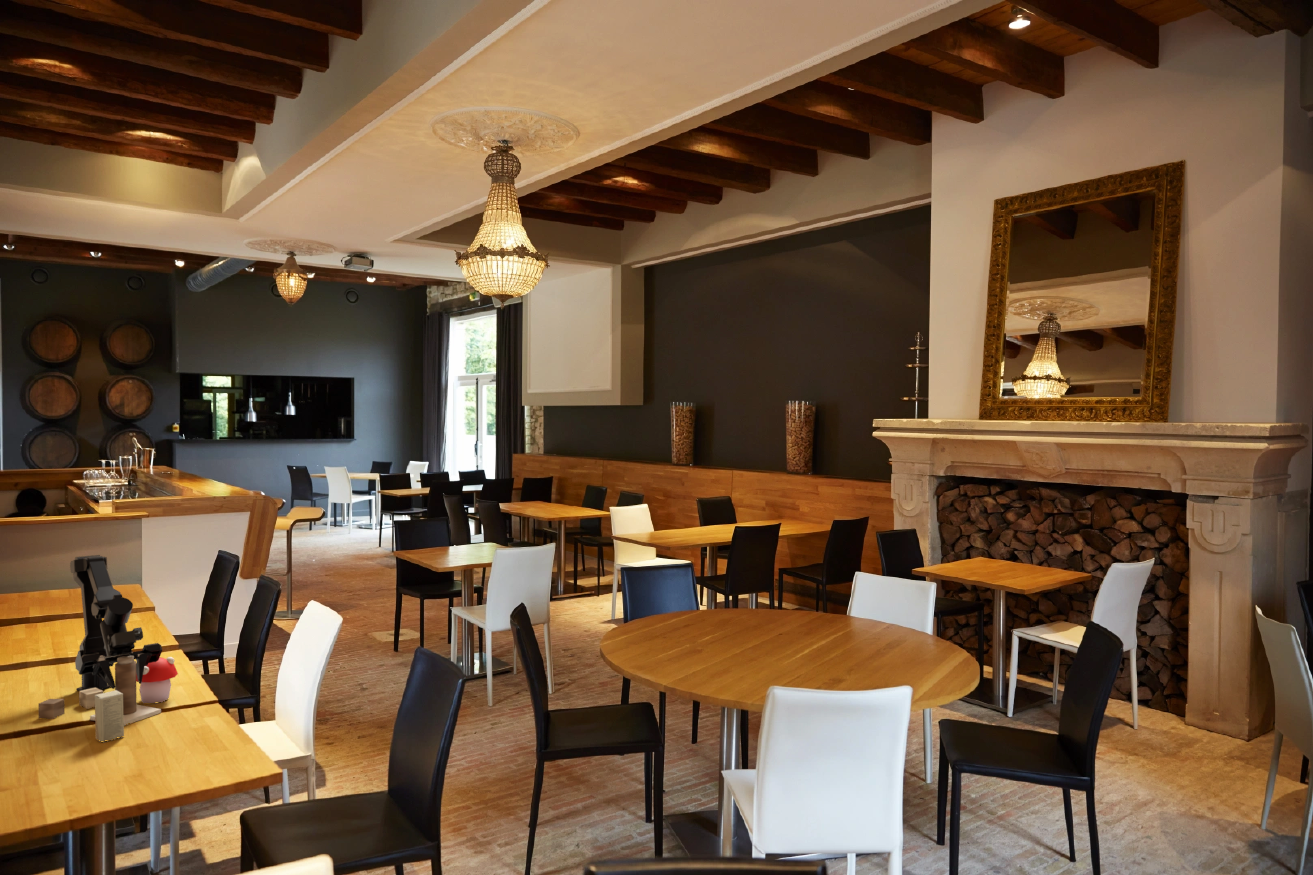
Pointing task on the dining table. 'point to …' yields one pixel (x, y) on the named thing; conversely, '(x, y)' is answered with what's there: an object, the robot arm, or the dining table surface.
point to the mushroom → (157, 680)
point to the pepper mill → (126, 682)
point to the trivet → (137, 714)
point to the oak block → (88, 697)
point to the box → (109, 715)
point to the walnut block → (51, 708)
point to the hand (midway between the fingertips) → (127, 685)
